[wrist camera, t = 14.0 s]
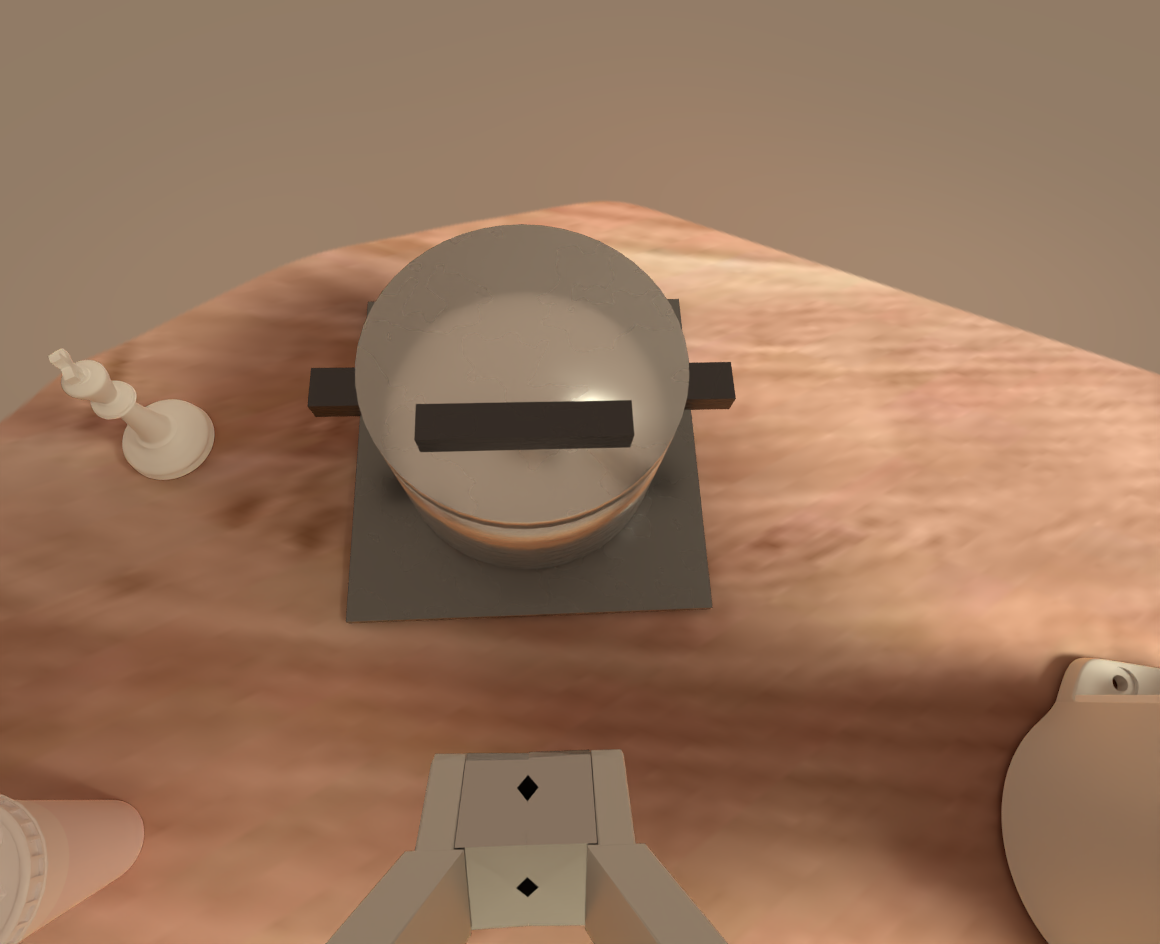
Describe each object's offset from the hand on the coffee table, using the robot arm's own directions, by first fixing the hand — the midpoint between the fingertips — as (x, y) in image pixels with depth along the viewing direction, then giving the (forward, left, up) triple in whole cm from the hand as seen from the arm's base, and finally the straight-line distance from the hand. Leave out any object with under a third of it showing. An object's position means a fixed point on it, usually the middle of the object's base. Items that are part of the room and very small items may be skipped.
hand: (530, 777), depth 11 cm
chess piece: (+21, -17, -26) cm, 38 cm away
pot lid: (0, -16, -16) cm, 23 cm away
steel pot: (0, -16, -26) cm, 30 cm away
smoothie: (+21, +4, -26) cm, 34 cm away
